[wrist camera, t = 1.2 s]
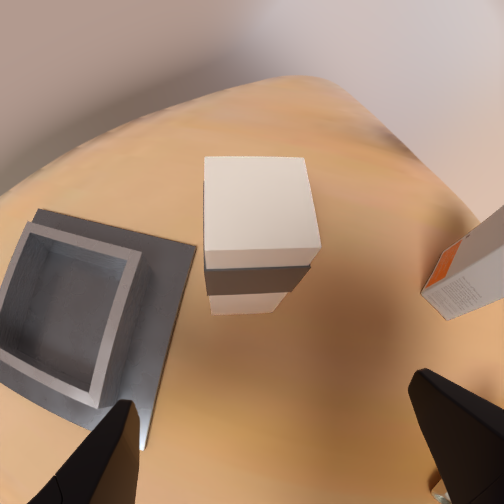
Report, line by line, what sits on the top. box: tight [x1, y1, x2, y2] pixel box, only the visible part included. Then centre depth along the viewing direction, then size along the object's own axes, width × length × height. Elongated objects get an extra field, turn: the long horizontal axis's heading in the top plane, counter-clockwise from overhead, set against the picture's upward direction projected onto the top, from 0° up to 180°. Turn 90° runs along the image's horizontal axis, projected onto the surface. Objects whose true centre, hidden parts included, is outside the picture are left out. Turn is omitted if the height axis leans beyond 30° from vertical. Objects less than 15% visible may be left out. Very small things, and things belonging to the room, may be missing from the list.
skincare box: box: [421, 205, 504, 320], centre depth 20 cm, size 6×4×12 cm
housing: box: [0, 209, 196, 451], centre depth 19 cm, size 16×16×4 cm
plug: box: [203, 156, 322, 315], centre depth 18 cm, size 5×5×12 cm
